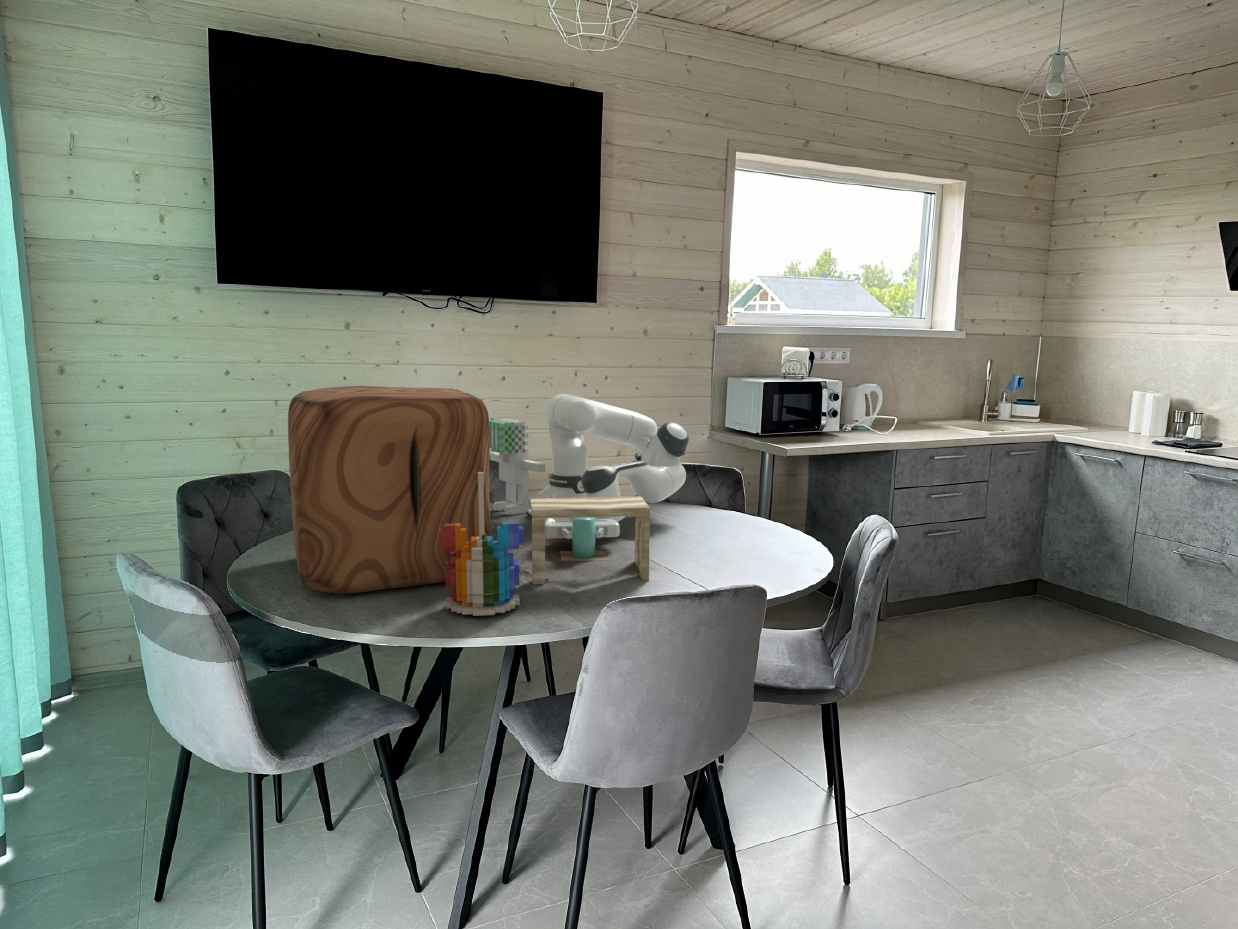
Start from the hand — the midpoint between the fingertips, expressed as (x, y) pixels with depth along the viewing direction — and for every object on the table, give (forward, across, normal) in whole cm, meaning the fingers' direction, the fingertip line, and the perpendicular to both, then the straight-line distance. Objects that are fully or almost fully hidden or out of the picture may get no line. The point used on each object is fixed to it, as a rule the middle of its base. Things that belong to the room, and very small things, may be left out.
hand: (583, 535), depth 229 cm
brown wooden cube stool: (+4, +49, -7) cm, 50 cm away
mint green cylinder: (-1, 0, -6) cm, 6 cm away
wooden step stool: (+13, 0, -6) cm, 15 cm away
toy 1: (+37, +25, -7) cm, 45 cm away
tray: (-1, 0, -6) cm, 7 cm away
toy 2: (-62, +20, -7) cm, 65 cm away
